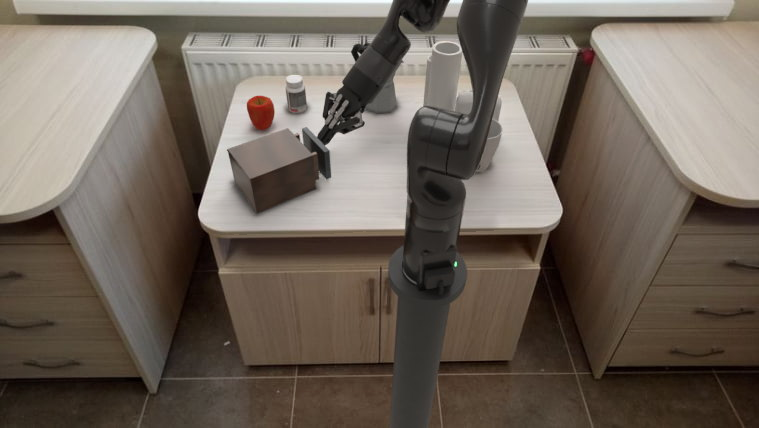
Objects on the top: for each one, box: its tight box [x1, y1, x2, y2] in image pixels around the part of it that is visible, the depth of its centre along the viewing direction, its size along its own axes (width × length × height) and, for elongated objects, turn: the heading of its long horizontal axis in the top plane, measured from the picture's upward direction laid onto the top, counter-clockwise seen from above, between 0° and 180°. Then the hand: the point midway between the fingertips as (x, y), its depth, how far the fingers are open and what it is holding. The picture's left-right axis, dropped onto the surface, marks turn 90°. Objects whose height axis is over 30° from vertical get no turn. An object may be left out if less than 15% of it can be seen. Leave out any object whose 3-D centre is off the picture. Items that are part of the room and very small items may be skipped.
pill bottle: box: [285, 74, 308, 114], centre depth 133 cm, size 5×5×8 cm
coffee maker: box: [350, 41, 405, 115], centre depth 132 cm, size 15×9×18 cm, turn 56°
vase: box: [422, 40, 463, 111], centre depth 127 cm, size 11×7×20 cm, turn 1°
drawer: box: [293, 126, 332, 181], centre depth 114 cm, size 14×10×7 cm
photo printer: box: [455, 89, 502, 122], centre depth 124 cm, size 10×4×12 cm, turn 85°
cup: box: [476, 119, 504, 173], centre depth 118 cm, size 8×8×10 cm
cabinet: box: [226, 127, 317, 214], centre depth 112 cm, size 14×11×9 cm
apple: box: [246, 95, 276, 131], centre depth 128 cm, size 6×6×8 cm
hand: (320, 142), depth 115 cm, fingers closed
